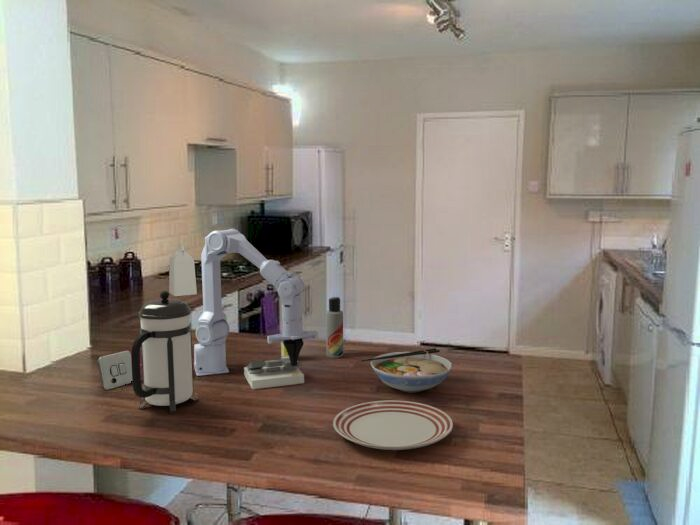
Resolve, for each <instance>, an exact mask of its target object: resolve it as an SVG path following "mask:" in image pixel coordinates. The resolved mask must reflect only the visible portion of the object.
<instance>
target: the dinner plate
mask: <svg viewBox="0 0 700 525" xmlns="http://www.w3.org/2000/svg"><path fill="white" fill-rule="evenodd" d="M453 422H454V421H453V420H452V418H451V417H450V416H449V414H447V413H446V412H445V411H444V410H441V409H439V408H438V407H436V406H435V407H434V406H431V405H429V404H425V403H419V402H415V401H408V400H390V399H388V400H387V399H386V400H375V401H368V402H362V403H360V404H359V403H358V404H356V405H355V404H354V405H352V406H349V407H347V408H344V409H343V410H342V411H340V412H339V413H337V414H336V416H335V417H334V418H333V422H332V424H333V425H332V426H333V428H334V430H335V432H336V433H338V434H339V435H340V436H342V437H343V438H344V439H346V440H348V441H350V442H353V443H354V444H357V445H360V446H363V447H367V448H371V449H376V450H377V449H378V450H388V451H403V450H411V449H417V448H423V447H427V446H429V445H432V444H435V443H438V442H439V441H441V440H443V439H444V438H446V437H447V436H449V434H450V433H451V432H452V430H453V428H454V423H453Z"/></svg>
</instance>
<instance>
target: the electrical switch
mask: <svg viewBox="0 0 700 525" xmlns="http://www.w3.org/2000/svg"><path fill="white" fill-rule="evenodd" d="M131 354H132V352H131V351H129V350H124V351H119V352H116V353H113V354H108V355H107V354H106V355H103V356H99V358H98V359H97V360H96V363H97V370H98V375H99V379H100V383H101V384H100V385H101V387H102V388H103V389H104V390H110V389H115V388H119V387H121V386H125V384H126V385H129V384H132V383H131V381H132V360H131Z"/></svg>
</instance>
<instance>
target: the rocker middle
mask: <svg viewBox="0 0 700 525" xmlns="http://www.w3.org/2000/svg"><path fill="white" fill-rule="evenodd" d="M264 361H265V360H264ZM277 366H283V363H282V361H281V360H278V359H273V360H266V361H265V366H264V367H277Z"/></svg>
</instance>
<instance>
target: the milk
mask: <svg viewBox="0 0 700 525" xmlns="http://www.w3.org/2000/svg"><path fill="white" fill-rule="evenodd" d="M168 263H169V264H168V266H169V268H168V270H169V272H168V274H169V275H168V276H169V284H168V286H169V288H168V290H169V292H168V293H169V294H171V295H172V296H174V297H178V296H180V297H183V296H192V295H197V294H198V293H197V291H198V290H197V280H196V279H197V278H196V268H195V267H196V265H195V259H194V258H193V257H192V256H191V254H189V253H188V252H187V251H186V250H185V245H184V244H182V243H178V246H177V250H175V251H173V253H172V255H170V257H169V260H168Z"/></svg>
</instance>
